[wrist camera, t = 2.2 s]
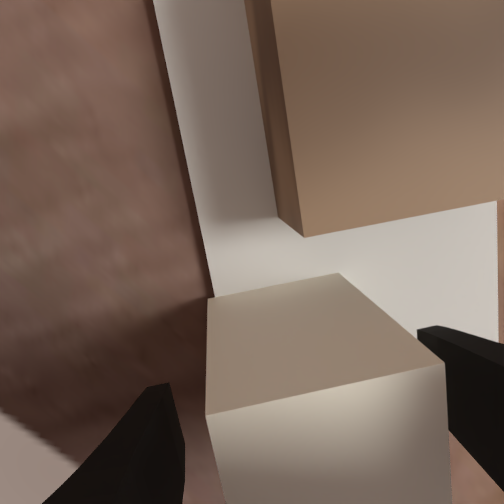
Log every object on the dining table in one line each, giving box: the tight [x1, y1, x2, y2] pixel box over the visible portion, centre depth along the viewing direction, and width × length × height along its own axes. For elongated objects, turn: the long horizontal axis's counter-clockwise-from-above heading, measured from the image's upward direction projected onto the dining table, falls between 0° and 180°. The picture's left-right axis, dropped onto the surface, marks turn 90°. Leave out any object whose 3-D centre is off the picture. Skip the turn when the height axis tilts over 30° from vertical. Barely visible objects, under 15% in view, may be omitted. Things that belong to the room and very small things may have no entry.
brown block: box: [244, 0, 504, 238], centre depth 10 cm, size 7×7×4 cm
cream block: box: [205, 273, 452, 504], centre depth 10 cm, size 4×4×6 cm
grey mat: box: [153, 0, 498, 342], centre depth 12 cm, size 16×10×1 cm, turn 10°
